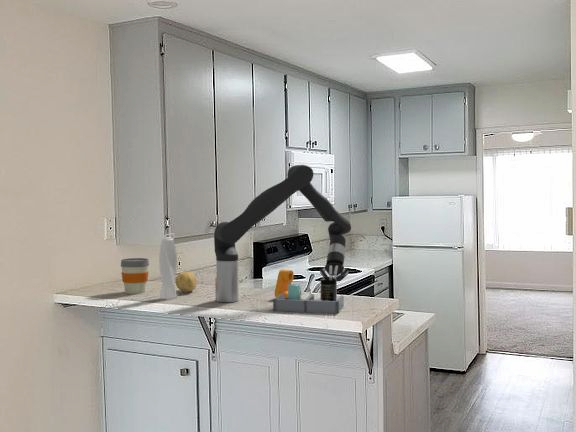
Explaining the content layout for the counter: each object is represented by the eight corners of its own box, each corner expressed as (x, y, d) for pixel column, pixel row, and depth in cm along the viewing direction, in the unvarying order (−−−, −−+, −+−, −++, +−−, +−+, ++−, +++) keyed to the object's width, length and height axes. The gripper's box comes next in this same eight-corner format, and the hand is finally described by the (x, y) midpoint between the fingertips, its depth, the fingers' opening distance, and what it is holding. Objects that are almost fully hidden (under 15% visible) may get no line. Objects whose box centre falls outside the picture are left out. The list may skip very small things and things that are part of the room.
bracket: (288, 300, 264) (288, 272, 263) (274, 298, 268) (274, 271, 267) (302, 296, 273) (302, 269, 272) (288, 295, 277) (288, 268, 276)
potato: (169, 293, 281) (169, 272, 280) (186, 288, 294) (186, 268, 293) (188, 295, 277) (188, 273, 276) (205, 290, 290) (204, 269, 290)
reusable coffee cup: (153, 292, 283) (153, 260, 282) (126, 295, 276) (126, 261, 275) (143, 289, 293) (142, 257, 292) (117, 291, 286) (116, 259, 285)
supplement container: (338, 305, 251) (338, 280, 251) (321, 305, 251) (321, 280, 250) (335, 302, 258) (335, 277, 258) (319, 302, 257) (319, 277, 257)
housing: (281, 303, 255) (281, 282, 255) (343, 306, 249) (343, 284, 249) (273, 310, 241) (273, 287, 241) (338, 313, 236) (338, 289, 235)
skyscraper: (169, 295, 274) (168, 232, 273) (181, 297, 270) (180, 233, 269) (155, 298, 268) (155, 233, 267) (168, 300, 264) (167, 234, 262)
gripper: (320, 250, 272) (315, 282, 261) (350, 251, 269) (346, 283, 258) (322, 261, 278) (317, 292, 266) (351, 261, 275) (348, 293, 263)
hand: (331, 288), depth 262 cm, fingers closed
